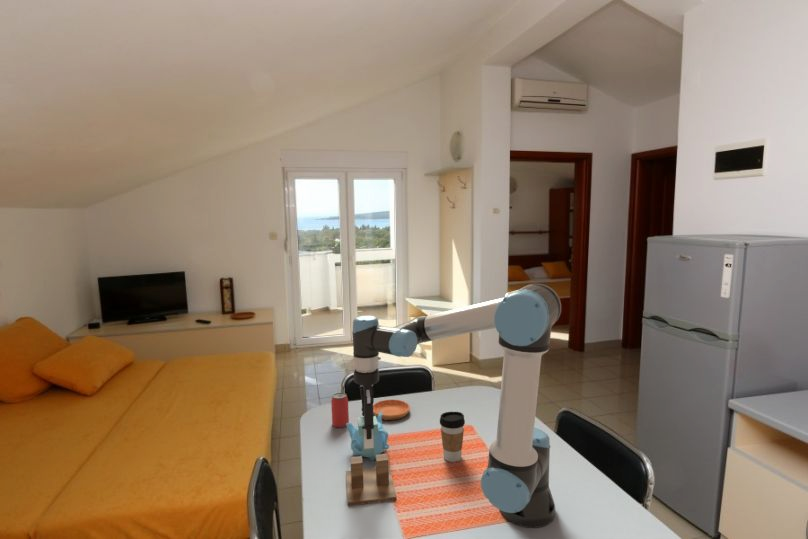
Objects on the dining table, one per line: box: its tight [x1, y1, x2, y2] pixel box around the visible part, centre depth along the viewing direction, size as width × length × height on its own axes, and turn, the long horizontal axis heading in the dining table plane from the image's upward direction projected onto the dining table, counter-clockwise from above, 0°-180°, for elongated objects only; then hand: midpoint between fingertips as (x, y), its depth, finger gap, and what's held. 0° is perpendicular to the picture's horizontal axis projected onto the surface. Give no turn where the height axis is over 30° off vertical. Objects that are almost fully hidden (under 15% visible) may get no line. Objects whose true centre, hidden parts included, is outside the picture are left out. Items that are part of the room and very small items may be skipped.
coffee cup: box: [439, 411, 466, 463], centre depth 151 cm, size 8×8×15 cm
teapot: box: [346, 412, 390, 461], centre depth 156 cm, size 15×14×11 cm
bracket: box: [345, 453, 398, 506], centre depth 136 cm, size 16×14×9 cm
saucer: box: [373, 399, 411, 421], centre depth 187 cm, size 16×16×3 cm
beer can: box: [330, 392, 350, 428], centre depth 177 cm, size 7×7×12 cm
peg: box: [357, 415, 378, 456], centre depth 135 cm, size 6×6×10 cm
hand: (368, 442), depth 135 cm, fingers closed on peg, 6 cm apart
